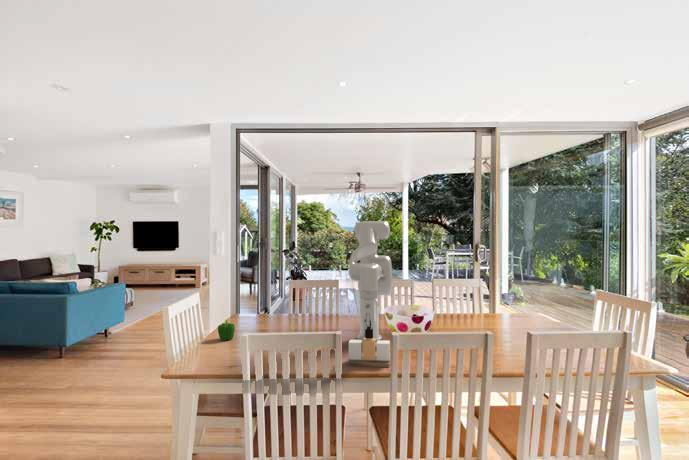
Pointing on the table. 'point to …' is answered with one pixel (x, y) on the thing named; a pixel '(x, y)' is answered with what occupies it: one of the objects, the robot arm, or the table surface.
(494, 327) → the table surface
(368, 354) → the block
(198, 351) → the table surface
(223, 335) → the bell pepper
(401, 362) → the table surface
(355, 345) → the rail board
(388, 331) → the table surface
